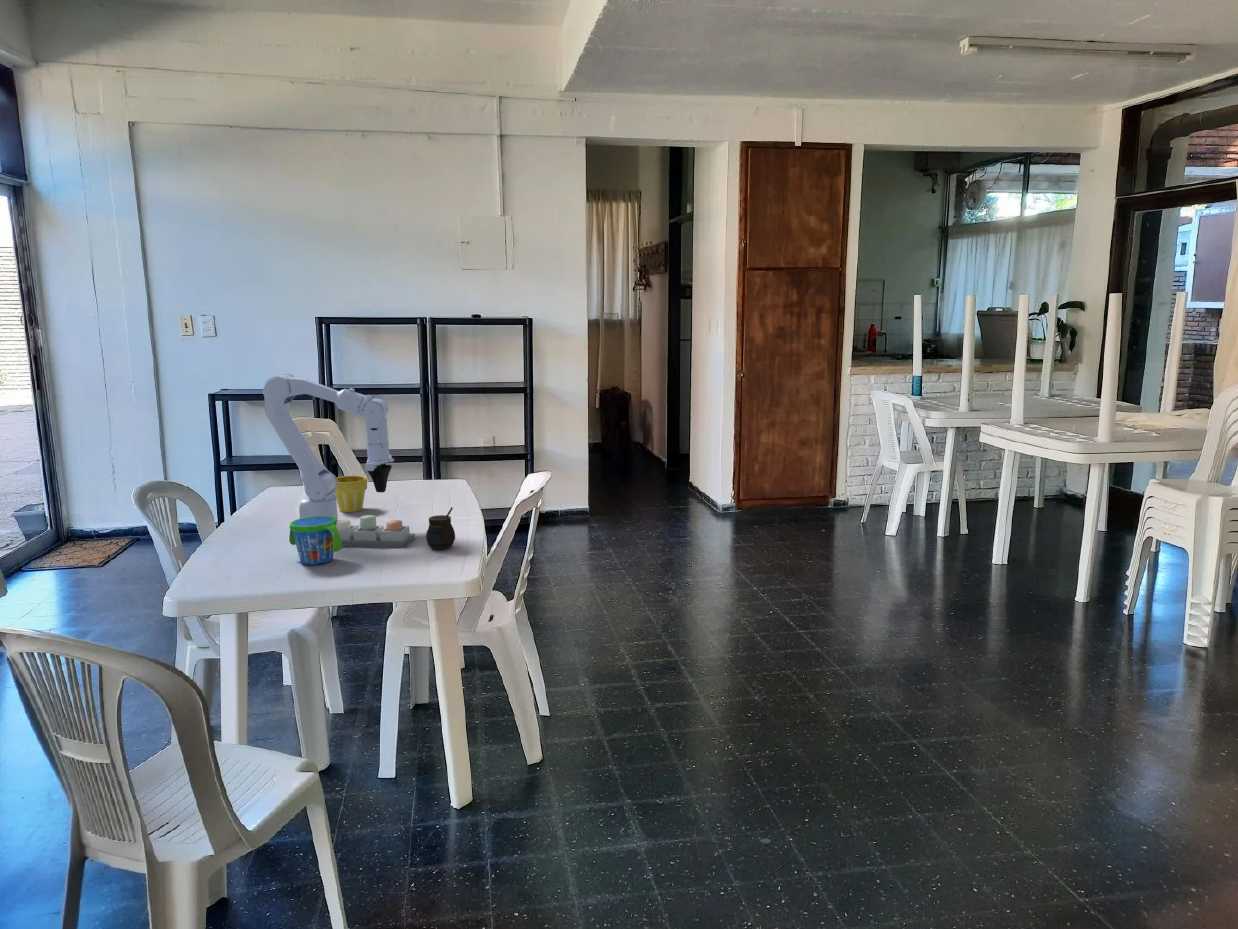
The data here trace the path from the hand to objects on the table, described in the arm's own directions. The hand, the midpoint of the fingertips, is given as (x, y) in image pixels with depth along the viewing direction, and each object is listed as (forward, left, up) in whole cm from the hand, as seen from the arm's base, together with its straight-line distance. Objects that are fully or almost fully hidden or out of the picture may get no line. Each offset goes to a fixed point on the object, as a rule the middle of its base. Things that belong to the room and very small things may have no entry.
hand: (381, 491), depth 230 cm
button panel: (+2, -14, -10) cm, 18 cm away
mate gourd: (+22, -18, -11) cm, 30 cm away
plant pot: (-18, +21, -11) cm, 30 cm away
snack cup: (-5, -31, -11) cm, 33 cm away
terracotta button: (+8, -14, -9) cm, 19 cm away
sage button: (+1, -14, -8) cm, 16 cm away
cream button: (-5, -14, -9) cm, 17 cm away
